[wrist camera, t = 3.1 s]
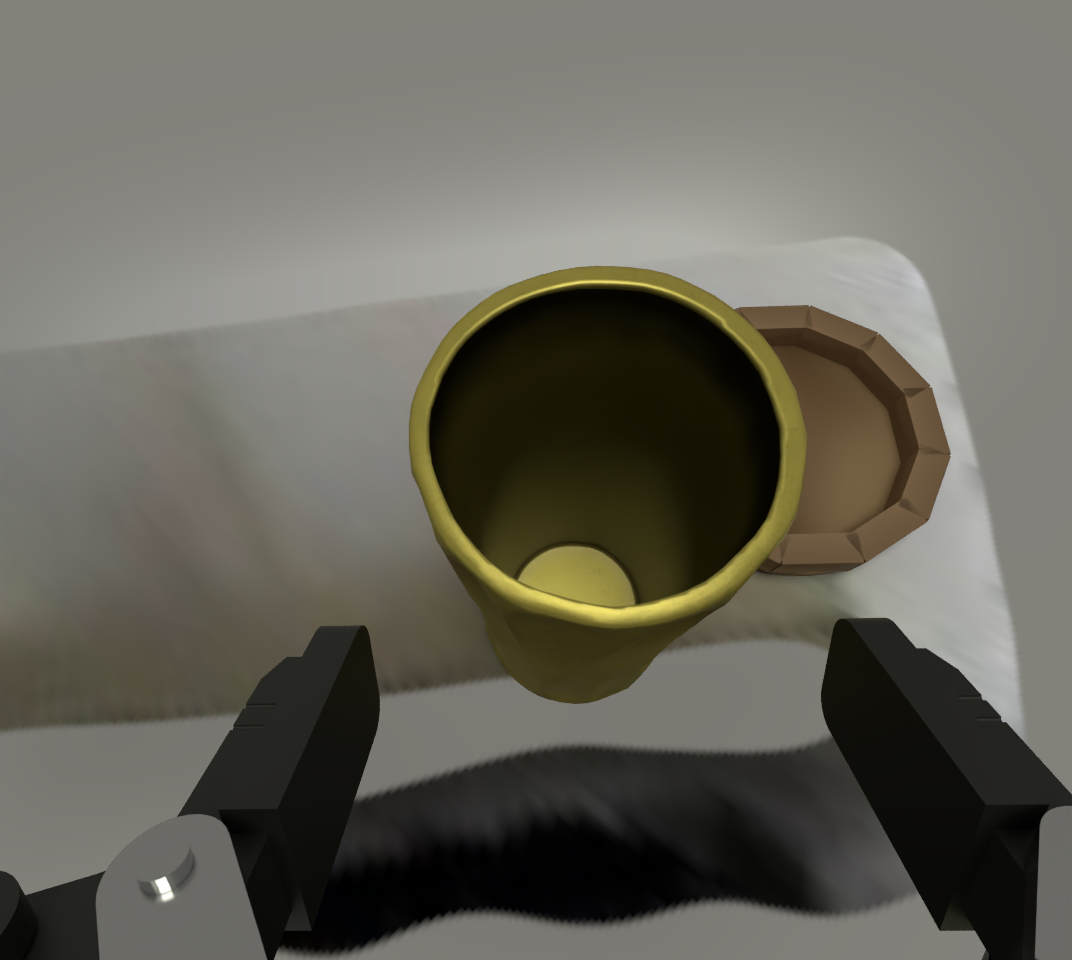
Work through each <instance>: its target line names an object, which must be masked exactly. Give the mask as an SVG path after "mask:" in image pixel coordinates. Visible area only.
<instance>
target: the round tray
mask: <svg viewBox="0 0 1072 960" xmlns="http://www.w3.org/2000/svg"><path fill="white" fill-rule="evenodd" d="M735 311H736V312H737V313H739V314H740V315H741V316H742V317H744V318H745V319H746V320H747V321H748V322H749V323H750V324H751V325H752V326H753V327H754V328H755V329H756V330H757V331H758V332H759V333H760V334H761V335H762V336H763V337H764V338H765V340H766V341H767V342H768V344H769V345H770V347H771V348H772V349H773V351H774V352H775V353H776V355H777V356H778V357H779V359H780V361H781V363H782V365H783V367H784V369H785V371H786V372H787V374H788V376H789V378H790V380H791V382H792V384H793V386H794V388H795V389H796V392H797V396H798V400H799V404H800V408H801V412H802V416H803V420H804V424H805V428H806V432H807V452H806V465H805V473H804V481H803V488H802V493H801V497H800V502H799V506H798V511H797V515H796V517H795V519H794V521H793V523H792V525H791V527H790V529H789V531H788V533H787V535H786V537H785V538H784V540H783V541H782V542H781V543H780V545H778V546H777V547H776V548H775V550H774V551H773V552H772V553H771V554H770V555H769V557H768V558H767V559H766V560H765V561H764V562H763V563H762V564H761V565H760V567H759V568H758V569H757V570H759V571H763V572H768V573H774V574H780V575H793V576H807V575H819V574H825V573H829V572H833V571H849V570H852V569H854V568H856V567H858V566H860V565H862V564H863V563H865V562H867V561H869V560H870V559H872V558H873V557H875V556H876V555H878V554H879V553H881V552H882V551H884V550H885V549H887V548H888V547H890V546H891V545H893V544H894V543H896V542H897V541H899V540H900V539H902V538H903V537H905V536H906V535H908V534H909V533H911V532H912V531H914V530H916V529H917V528H919V527H920V526H922V525H923V524H925V523H926V522H927V521H928V520H929V518H930V515H931V512H932V509H933V506H934V503H935V500H936V497H937V495H938V492H939V489H940V486H941V483H942V480H943V477H944V474H945V471H946V468H947V466H948V463H949V460H950V457H951V456H949V455H950V454H951V453H950V450H949V446H948V443H947V439H946V436H945V432H944V429H943V425H942V422H941V419H940V415H939V412H938V408H937V405H936V401H935V398H934V394H933V391H932V388H928V387H930V385H929V384H928V383H927V382H926V381H925V380H924V379H923V378H922V377H921V376H920V375H919V373H918V372H917V371H916V370H915V369H914V368H913V367H912V366H911V365H910V364H909V363H908V362H907V361H906V360H905V359H904V358H903V357H902V356H901V355H900V354H899V353H898V352H897V351H896V350H895V349H894V348H893V347H892V346H891V345H890V344H889V343H888V342H887V341H886V340H885V339H884V338H883V337H882V336H881V335H880V334H879V335H877V334H878V332H875V331H873V330H870V329H868V328H865V327H863V326H860V325H858V324H855V323H853V322H850V321H848V320H845V319H843V318H840V317H838V316H835V315H833V314H830V313H828V312H825V311H823V310H820V309H818V308H815V307H813V306H810V307H809V305H801V306H768V307H740V308H739V309H738V308H737V309H735Z"/></svg>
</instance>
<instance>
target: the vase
mask: <svg viewBox="0 0 1072 960" xmlns="http://www.w3.org/2000/svg"><path fill="white" fill-rule="evenodd" d="M409 451H410V461H411V471H412V475H413V477H414V479H415V481H416V484H417V486H418V488H419V490H420V493H421V496H422V498H423V501H424V504H425V507H426V510H427V513H428V515H429V518H430V521H431V524H432V527H433V531H434V534H435V537H436V540H437V542H438V543H439V545H440V546H441V548H442V550H443V551H444V553H445V555H446V557H447V559H448V561H449V562H450V564H451V566H452V567H453V569H454V570H455V572H456V574H457V575H458V577H459V579H460V580H461V582H462V584H463V585H464V587H465V589H466V590H467V592H468V594H469V595H470V597H471V598H472V599H473V600H474V601H475V602H476V604H477V605H478V606H479V608H480V610H481V613H482V615H483V617H484V619H485V625H486V630H487V634H488V636H489V639H490V642H491V644H492V646H493V648H494V651H495V653H496V655H497V657H498V659H499V660H500V662H501V664H502V665H503V667H504V668H505V669H506V671H507V672H508V673H509V674H510V675H511V676H512V677H513V678H514V679H515V680H516V681H517V682H518V683H520V684H521V685H523V686H524V687H525V688H526V689H528V690H529V691H531V692H533V693H535V694H536V695H538V696H541V697H544V698H546V699H549V700H554V701H558V702H565V703H573V704H578V703H579V704H580V703H589V702H593V701H597V700H600V699H603V698H605V697H608V696H610V695H613V694H616V693H618V692H620V691H622V690H625V689H627V688H628V687H629V686H630V685H631V684H633V683H634V682H635V681H636V680H637V679H638V678H639V677H640V676H641V674H642V673H643V672H644V671H645V670H646V669H647V667H648V666H649V665H650V663H651V662H652V661H653V659H654V658H655V657H656V656H657V655H658V654H659V653H660V652H661V651H662V650H663V649H664V648H666V647H667V646H668V645H669V644H670V643H671V642H673V641H674V640H675V639H677V638H678V637H680V636H681V635H683V634H684V633H685V632H686V631H688V630H689V629H690V628H692V627H693V626H695V625H696V624H697V623H699V622H700V621H701V620H702V619H704V618H705V617H706V616H708V615H709V614H711V613H712V612H714V611H716V610H717V609H719V608H721V607H722V606H724V605H725V604H726V603H728V602H729V601H730V600H731V599H732V597H733V596H734V595H735V594H736V593H737V591H738V590H739V589H740V588H741V587H742V586H743V585H744V584H745V582H746V581H747V580H748V579H749V578H750V577H751V576H752V575H753V574H754V572H755V571H756V570H757V569H758V568H759V567H760V565H761V564H762V563H763V562H764V561H765V560H766V559H767V558H768V557H769V555H770V554H771V553H772V552H773V551H774V550H775V548H776V547H777V546H778V545H780V543H781V542H782V541H783V540H784V538H785V537H786V535H787V533H788V531H789V529H790V527H791V525H792V523H793V521H794V519H795V517H796V515H797V511H798V506H799V502H800V497H801V493H802V488H803V481H804V473H805V465H806V452H807V432H806V428H805V424H804V420H803V416H802V412H801V408H800V404H799V400H798V396H797V392H796V389H795V388H794V386H793V384H792V382H791V380H790V378H789V376H788V374H787V372H786V371H785V369H784V367H783V365H782V363H781V361H780V359H779V357H778V356H777V355H776V353H775V352H774V351H773V349H772V348H771V347H770V345H769V344H768V342H767V341H766V340H765V338H764V337H763V336H762V335H761V334H760V333H759V332H758V331H757V330H756V329H755V328H754V327H753V326H752V325H751V324H750V323H749V322H748V321H747V320H746V319H745V318H744V317H742V316H741V315H740V314H739V313H737V312H736V311H735V310H734V309H733V308H731V307H730V306H729V305H727V304H726V303H724V302H723V301H721V300H720V299H719V298H717V297H716V296H714V295H712V294H711V293H709V292H707V291H705V290H703V289H701V288H699V287H697V286H695V285H693V284H691V283H688V282H686V281H684V280H682V279H680V278H677V277H674V276H671V275H669V274H666V273H662V272H657V271H653V270H648V269H639V268H631V267H615V266H589V267H576V268H570V269H564V270H558V271H554V272H551V273H547V274H543V275H539V276H536V277H533V278H530V279H527V280H524V281H521V282H518V283H516V284H513V285H510V286H508V287H506V288H504V289H502V290H500V291H498V292H496V293H494V294H493V295H491V296H490V297H488V298H487V299H485V300H484V301H482V302H481V303H480V304H478V305H477V306H476V307H475V308H473V309H472V310H471V311H470V312H468V313H467V314H466V315H465V316H464V317H463V318H462V319H461V320H460V321H458V322H457V323H456V324H455V325H454V326H453V327H452V329H451V330H450V331H449V332H448V334H447V335H446V336H445V337H444V339H443V340H442V341H441V343H440V345H439V346H438V348H437V350H436V351H435V353H434V355H433V357H432V358H431V360H430V362H429V364H428V366H427V367H426V369H425V371H424V373H423V376H422V378H421V380H420V382H419V384H418V386H417V389H416V392H415V395H414V398H413V401H412V404H411V411H410V421H409Z"/></svg>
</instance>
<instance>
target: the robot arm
mask: <svg viewBox="0 0 1072 960" xmlns="http://www.w3.org/2000/svg"><path fill="white" fill-rule="evenodd" d="M821 702H822V710H823V714H824V718H825V721H826V724H827V726H828V729H829V731H830V732H831V734H832V736H833V738H834V740H835V741H836V743H837V745H838V747H839V749H840V751H841V752H842V754H843V756H844V758H845V760H846V761H847V763H848V765H849V767H850V769H851V770H852V772H853V774H854V776H855V778H856V780H857V781H858V783H859V785H860V787H861V789H862V790H863V792H864V794H865V796H866V798H867V800H868V801H869V803H870V805H871V807H872V809H873V810H874V812H875V814H876V816H877V818H878V820H879V821H880V823H881V825H882V827H883V829H884V830H885V832H886V834H887V836H888V838H889V839H890V841H891V843H892V845H893V847H894V849H895V850H896V852H897V854H898V856H899V858H900V859H901V861H902V863H903V865H904V867H905V869H906V870H907V872H908V874H909V876H910V878H911V879H912V881H913V883H914V885H915V887H916V888H917V890H918V892H919V894H920V896H921V898H922V899H923V901H924V903H925V905H926V906H927V908H928V910H929V912H930V914H931V916H932V917H933V919H934V921H935V923H936V925H937V926H938V928H939V930H940V931H947V930H949V931H952V930H953V931H956V930H957V931H960V930H962V931H966V930H975V931H976V933H977V935H978V936H979V938H980V940H981V942H982V943H983V945H984V947H985V948H986V951H985V953H984V955H983V958H982V960H1072V794H1071V793H1070V792H1069V791H1068V790H1067V789H1066V788H1065V787H1064V786H1063V785H1062V783H1061V782H1060V781H1059V780H1058V779H1057V778H1056V777H1055V776H1054V775H1053V774H1052V772H1051V771H1050V770H1049V769H1048V768H1047V767H1046V766H1045V765H1044V764H1043V762H1042V761H1041V760H1040V759H1039V758H1038V757H1037V756H1036V755H1035V754H1034V753H1033V751H1032V750H1031V749H1030V748H1029V747H1028V746H1027V745H1026V744H1025V743H1024V741H1023V740H1022V739H1021V738H1020V737H1019V736H1018V735H1017V734H1016V733H1015V732H1014V730H1013V729H1012V728H1011V727H1010V726H1009V725H1008V724H1007V723H1006V722H1002V721H1001V716H1000V715H999V714H998V713H997V712H996V711H995V710H994V708H993V707H992V706H991V705H990V704H989V703H988V702H987V701H986V700H982V698H981V694H980V693H979V692H978V691H977V690H976V689H975V687H974V686H973V685H972V684H971V683H970V682H969V681H968V680H967V679H966V678H965V676H964V675H963V674H962V673H961V672H960V671H959V670H958V669H957V668H955V667H953V666H952V665H950V664H949V663H947V662H946V661H944V660H943V659H941V658H940V657H938V656H937V655H935V654H934V653H932V652H931V651H929V650H928V649H926V648H917V649H916V647H915V646H914V645H913V644H912V643H911V642H910V640H909V639H908V638H907V637H906V636H905V635H904V633H903V632H902V631H901V630H900V629H899V628H898V626H897V625H896V624H895V623H894V622H893V621H892V620H890V619H888V618H851V619H839V620H838V621H837V622H836V624H835V626H834V629H833V633H832V638H831V643H830V648H829V653H828V659H827V664H826V669H825V674H824V679H823V684H822V690H821ZM246 705H247V706H246V709H243V710H242V712H241V713H240V715H239V717H238V718H237V720H236V722H235V723H234V728H233V730H230V731H229V733H228V735H227V736H226V738H225V740H224V741H223V743H222V745H221V746H220V748H219V750H218V751H217V753H216V754H215V756H214V758H213V759H212V761H211V763H210V765H209V766H208V768H207V769H206V771H205V773H204V774H203V776H202V777H201V779H200V781H199V782H198V784H197V785H196V787H195V789H194V790H193V792H192V794H191V795H190V797H189V799H188V800H187V802H186V803H185V805H184V807H183V808H182V810H181V812H180V813H179V815H178V816H177V817H176V818H173V819H170V820H167V821H165V822H163V823H160V824H158V825H156V826H154V827H153V828H151V829H149V830H147V831H146V832H144V833H143V834H141V835H140V836H138V837H137V838H136V839H135V840H133V841H132V842H131V843H130V844H129V845H127V846H126V847H125V848H124V849H123V850H122V851H121V852H120V853H119V854H118V855H117V857H116V858H115V859H114V860H113V861H112V863H111V864H110V865H109V867H108V869H107V870H106V871H104V872H101V873H98V874H96V875H92V876H89V877H85V878H82V879H79V880H75V881H72V882H69V883H66V884H62V885H59V886H55V887H52V888H49V889H45V890H42V891H39V892H35V893H32V894H28V895H25V894H24V892H23V891H22V889H21V887H20V885H19V884H18V882H17V880H16V879H15V878H14V877H13V876H12V875H10V874H8V873H6V872H3V871H0V960H274V958H275V955H276V952H277V950H278V947H279V944H280V941H281V939H282V936H283V933H284V931H312V928H313V925H314V922H315V919H316V916H317V913H318V910H319V907H320V903H321V900H322V897H323V894H324V891H325V888H326V885H327V882H328V879H329V876H330V873H331V870H332V867H333V864H334V861H335V857H336V854H337V851H338V848H339V845H340V842H341V839H342V836H343V833H344V830H345V827H346V824H347V821H348V818H349V815H350V811H351V808H352V805H353V802H354V799H355V796H356V793H357V790H358V787H359V784H360V781H361V778H362V775H363V772H364V768H365V765H366V762H367V759H368V756H369V753H370V750H371V747H372V744H373V741H374V737H375V735H376V731H377V727H378V721H379V712H380V698H379V690H378V684H377V678H376V672H375V667H374V661H373V655H372V649H371V643H370V637H369V633H368V630H367V628H366V627H365V626H321V627H319V628H318V629H317V631H316V632H315V634H314V636H313V638H312V639H311V641H310V643H309V645H308V647H307V648H306V650H305V652H304V654H303V656H302V657H286V658H285V659H284V660H283V661H282V662H281V663H279V664H278V665H277V666H276V667H275V668H274V669H272V670H271V671H270V672H269V673H268V674H267V675H265V676H264V677H263V678H262V679H261V681H260V682H259V684H258V686H257V687H256V689H255V690H254V692H253V694H252V695H251V697H250V699H249V700H248V702H247V704H246Z"/></svg>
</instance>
